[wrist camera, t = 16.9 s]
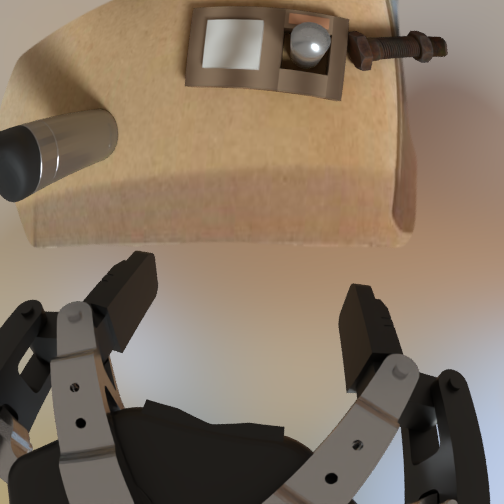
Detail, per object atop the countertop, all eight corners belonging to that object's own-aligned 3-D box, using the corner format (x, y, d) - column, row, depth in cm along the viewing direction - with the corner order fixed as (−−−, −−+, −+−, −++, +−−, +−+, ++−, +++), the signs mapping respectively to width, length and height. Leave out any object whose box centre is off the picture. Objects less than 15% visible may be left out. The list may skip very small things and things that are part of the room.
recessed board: (192, 87, 33) (182, 85, 30) (200, 14, 27) (191, 6, 24) (336, 101, 32) (342, 100, 28) (344, 25, 26) (350, 17, 22)
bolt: (432, 54, 26) (348, 60, 30) (431, 26, 22) (341, 30, 26) (455, 69, 23) (364, 75, 26) (455, 38, 19) (359, 40, 22)
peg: (289, 66, 30) (289, 52, 22) (291, 40, 28) (292, 19, 20) (318, 71, 30) (329, 58, 21) (321, 45, 28) (332, 26, 19)
